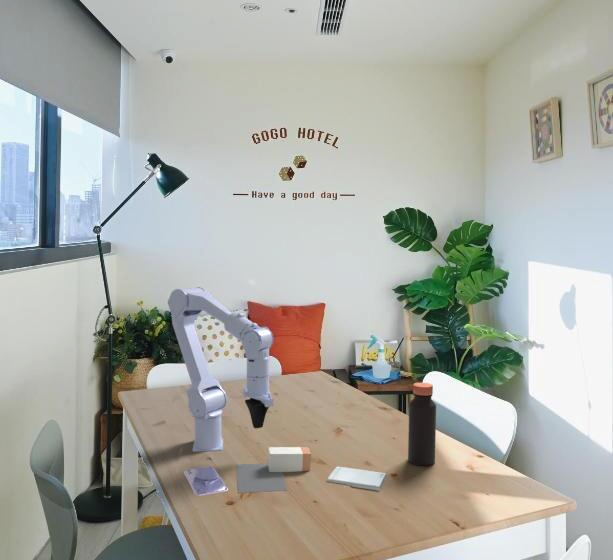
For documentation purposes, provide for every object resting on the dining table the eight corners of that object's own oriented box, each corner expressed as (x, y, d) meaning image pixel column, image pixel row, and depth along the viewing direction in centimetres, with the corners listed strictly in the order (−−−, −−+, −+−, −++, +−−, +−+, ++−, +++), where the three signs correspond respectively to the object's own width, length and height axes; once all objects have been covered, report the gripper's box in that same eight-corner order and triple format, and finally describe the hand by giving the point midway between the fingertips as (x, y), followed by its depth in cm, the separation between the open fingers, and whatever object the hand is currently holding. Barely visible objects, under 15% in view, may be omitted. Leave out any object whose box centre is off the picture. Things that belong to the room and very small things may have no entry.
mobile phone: (195, 495, 122) (182, 469, 136) (195, 499, 122) (182, 473, 136) (229, 489, 125) (213, 464, 139) (229, 493, 125) (213, 468, 139)
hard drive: (386, 472, 134) (337, 465, 138) (379, 486, 126) (327, 478, 130) (386, 479, 134) (336, 471, 138) (379, 493, 126) (327, 484, 130)
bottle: (423, 454, 148) (425, 380, 147) (440, 463, 142) (442, 386, 141) (402, 458, 145) (404, 383, 144) (419, 468, 139) (420, 389, 138)
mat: (236, 466, 140) (236, 464, 140) (280, 463, 141) (280, 462, 141) (237, 494, 124) (237, 492, 124) (287, 491, 126) (287, 490, 126)
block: (268, 447, 139) (308, 447, 141) (267, 464, 140) (307, 464, 141) (270, 453, 135) (310, 453, 136) (269, 472, 135) (310, 471, 137)
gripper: (232, 371, 147) (233, 421, 148) (254, 383, 135) (254, 438, 136) (257, 368, 151) (257, 417, 152) (281, 379, 138) (280, 433, 139)
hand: (257, 427), depth 144 cm, fingers closed
